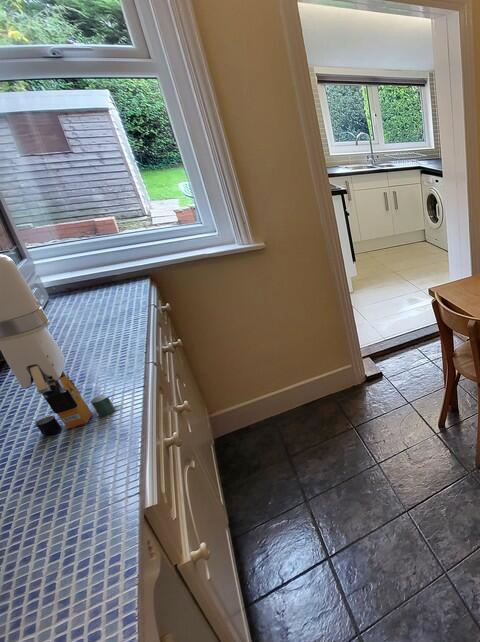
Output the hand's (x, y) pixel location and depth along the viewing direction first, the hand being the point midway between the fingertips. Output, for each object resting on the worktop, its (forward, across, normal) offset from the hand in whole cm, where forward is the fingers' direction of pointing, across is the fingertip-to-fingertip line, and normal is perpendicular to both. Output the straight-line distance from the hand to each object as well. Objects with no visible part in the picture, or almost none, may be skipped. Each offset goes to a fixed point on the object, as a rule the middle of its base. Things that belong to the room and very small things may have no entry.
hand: (68, 403), depth 82 cm
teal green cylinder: (+5, 0, +4) cm, 6 cm away
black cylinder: (+5, 0, -4) cm, 6 cm away
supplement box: (+5, 0, 0) cm, 5 cm away
